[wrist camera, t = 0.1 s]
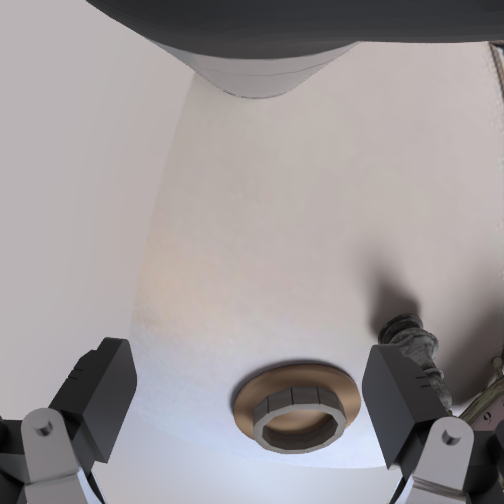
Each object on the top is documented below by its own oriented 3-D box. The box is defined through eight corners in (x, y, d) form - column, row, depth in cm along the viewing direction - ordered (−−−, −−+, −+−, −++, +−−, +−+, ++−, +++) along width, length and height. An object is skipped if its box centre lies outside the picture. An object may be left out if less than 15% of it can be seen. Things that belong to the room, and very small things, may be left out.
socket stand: (233, 363, 32) (231, 388, 29) (372, 361, 32) (381, 384, 29) (234, 439, 38) (233, 461, 35) (343, 437, 38) (348, 458, 35)
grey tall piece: (408, 301, 29) (463, 386, 18) (433, 330, 31) (482, 408, 20) (364, 339, 31) (400, 431, 20) (393, 363, 33) (428, 447, 22)
